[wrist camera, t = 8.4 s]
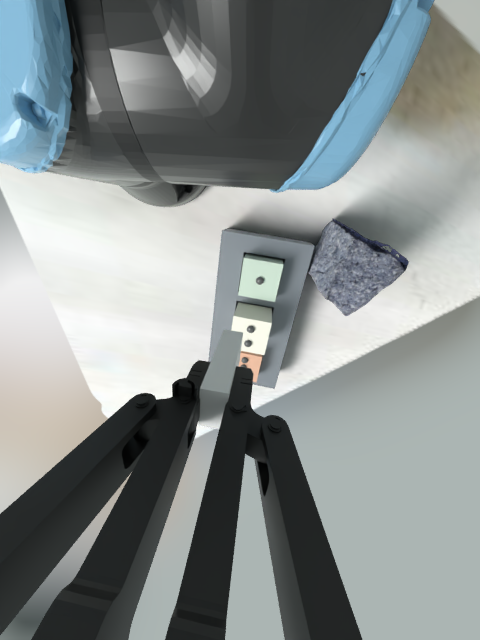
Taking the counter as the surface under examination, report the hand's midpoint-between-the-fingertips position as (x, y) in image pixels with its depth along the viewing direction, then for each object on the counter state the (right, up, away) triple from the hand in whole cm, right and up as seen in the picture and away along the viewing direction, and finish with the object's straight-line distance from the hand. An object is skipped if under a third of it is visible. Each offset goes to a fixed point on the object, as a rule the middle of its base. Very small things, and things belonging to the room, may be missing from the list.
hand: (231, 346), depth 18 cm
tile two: (+2, +2, +17) cm, 17 cm away
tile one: (+4, +9, +16) cm, 19 cm away
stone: (+15, +11, +16) cm, 24 cm away
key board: (+3, +4, +20) cm, 21 cm away
